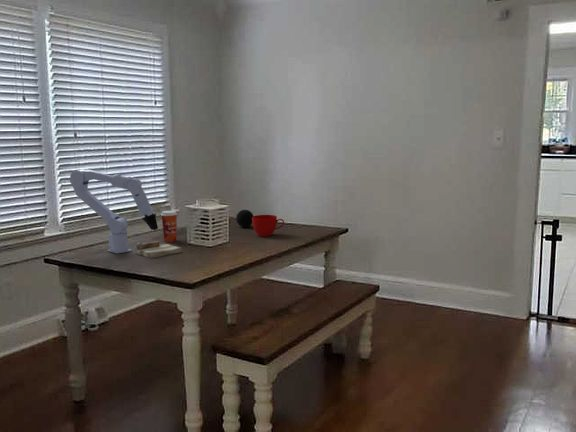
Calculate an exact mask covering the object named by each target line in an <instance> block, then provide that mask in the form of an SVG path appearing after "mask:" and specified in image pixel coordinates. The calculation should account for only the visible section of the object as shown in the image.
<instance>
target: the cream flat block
mask: <svg viewBox="0 0 576 432" xmlns="http://www.w3.org/2000/svg"><path fill="white" fill-rule="evenodd" d="M159 245H160V246H156V247H150V248H144V249H136V248H135V250H134V251H135V254H137V255H140V256H144V257H147V258H149V259H153V258H158V257H163V256H169V255H173V254H179V253H182V247H180V246H179V247H178V246H176V245H172V244H168V243H161V244H159Z"/></svg>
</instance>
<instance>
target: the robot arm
mask: <svg viewBox="0 0 576 432" xmlns="http://www.w3.org/2000/svg"><path fill="white" fill-rule="evenodd" d="M69 175H70V176H69V183H70V185H72V188H73V191H74V193H75V195H76V197H78V198H79V199H80V200H81V201H82V202H83V203H84V204H86V205H87V207H88V208H90V209H91V210H92V211H94V212H95V213H96V214H97V215H98V216H99V217H101V219H103V220H104V221H105V224H106V225H107V226H108V227H109V231H110V233H109V234H108V248H109V249H107V251H108V252H111V253H114V254H122V253H127V252H128V253H129V252H132V251H133V249H130V248H129V240H128V230H127V229H128V226H129V222H128V220H127V219H126V218H125V217H122V216H120V215H119V214H117V213H115V212H113V211H112V210H111V209H110V208H109V207H107V206H106V205H105V204H104V203H103V202H102V201H101V200H100V199H98V198H97V197H96V196H95V195H94V194H93V193H91V191H89V187H88V186H89V185H88V184H89V183H90V181H92V180H96V181H101V182H105V183H110V185H111V186H112V187H116V188H119V189H123V190H127V191H128V192H130V194H131V196H132V198H133V200H134V203H135V204H136V207H137V209H138V211H139V213H140V216H144V217H141V219H142V220H143V221H144V222H145V223H146V225H147V227H149V229H150V230H151V231H152V230H153V231H156V230H158V229H159V227H158V226H159V225H158V221H157V218H156V217H157V214H156V213H154V212H153V211H155V210H156V208H155V207H153V208H152V206H151V203H150V201H149V199H148V197H147V195H146V193H145V191H144V189H143V187H142V181H141V180H140V179H139V178H137V177H133V178H132V177H131V176H124V175H122V173H118V174H114V175H109V174H107V173H102V172H100V171H95V170H92V169H85V168H81V169H77V170H74V171H72V172H70V174H69Z"/></svg>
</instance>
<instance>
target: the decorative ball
mask: <svg viewBox="0 0 576 432" xmlns="http://www.w3.org/2000/svg"><path fill="white" fill-rule="evenodd" d="M253 216H254V214H253V213H252V212H251V211H250V209H249V210H248V209H242V210H240V211H238V213H236V217H235V219H236V220H235V221H236V223H237V225H238V226H239V227H242V228H249V227H251V226H252V225H253V223H252V217H253Z"/></svg>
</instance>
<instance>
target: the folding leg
mask: <svg viewBox="0 0 576 432" xmlns="http://www.w3.org/2000/svg"><path fill="white" fill-rule="evenodd" d="M160 245H161V244H160V241H158V240H155V241H150V242H143V243H142V242H137V243H136V248H135V249H144V248H150V247H156V246H160Z"/></svg>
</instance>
